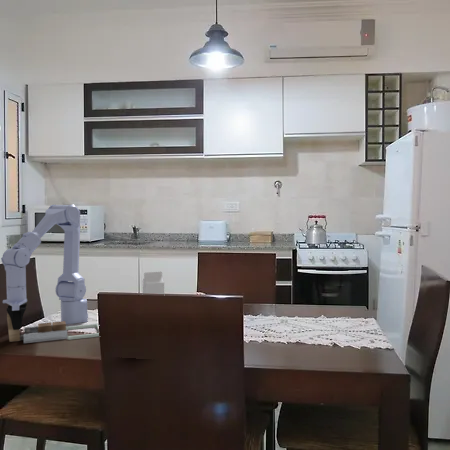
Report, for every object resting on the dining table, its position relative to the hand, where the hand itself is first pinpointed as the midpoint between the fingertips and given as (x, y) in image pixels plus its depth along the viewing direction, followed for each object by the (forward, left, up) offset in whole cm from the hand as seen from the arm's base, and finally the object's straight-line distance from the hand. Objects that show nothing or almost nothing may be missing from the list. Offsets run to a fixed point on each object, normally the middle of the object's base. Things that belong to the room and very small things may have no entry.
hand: (17, 328), depth 147 cm
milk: (-41, +13, -5) cm, 44 cm away
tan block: (-1, 0, -4) cm, 4 cm away
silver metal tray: (-8, 0, -4) cm, 10 cm away
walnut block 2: (-13, 0, -4) cm, 13 cm away
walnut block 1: (-8, 0, -4) cm, 9 cm away
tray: (-20, 0, -4) cm, 21 cm away
